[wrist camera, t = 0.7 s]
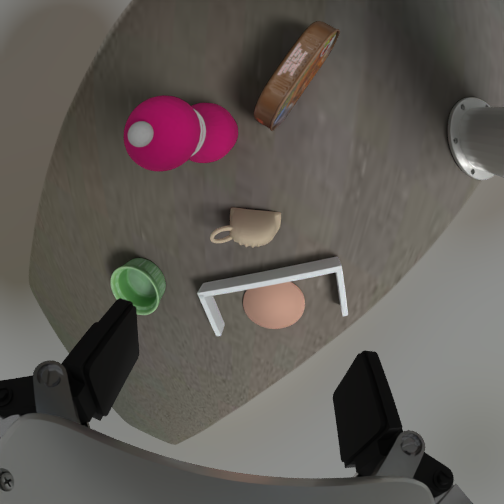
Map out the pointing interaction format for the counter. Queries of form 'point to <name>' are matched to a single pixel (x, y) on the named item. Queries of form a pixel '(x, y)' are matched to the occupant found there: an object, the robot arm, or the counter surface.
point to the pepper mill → (178, 133)
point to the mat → (274, 305)
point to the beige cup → (250, 227)
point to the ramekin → (139, 284)
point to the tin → (295, 74)
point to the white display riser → (265, 280)
